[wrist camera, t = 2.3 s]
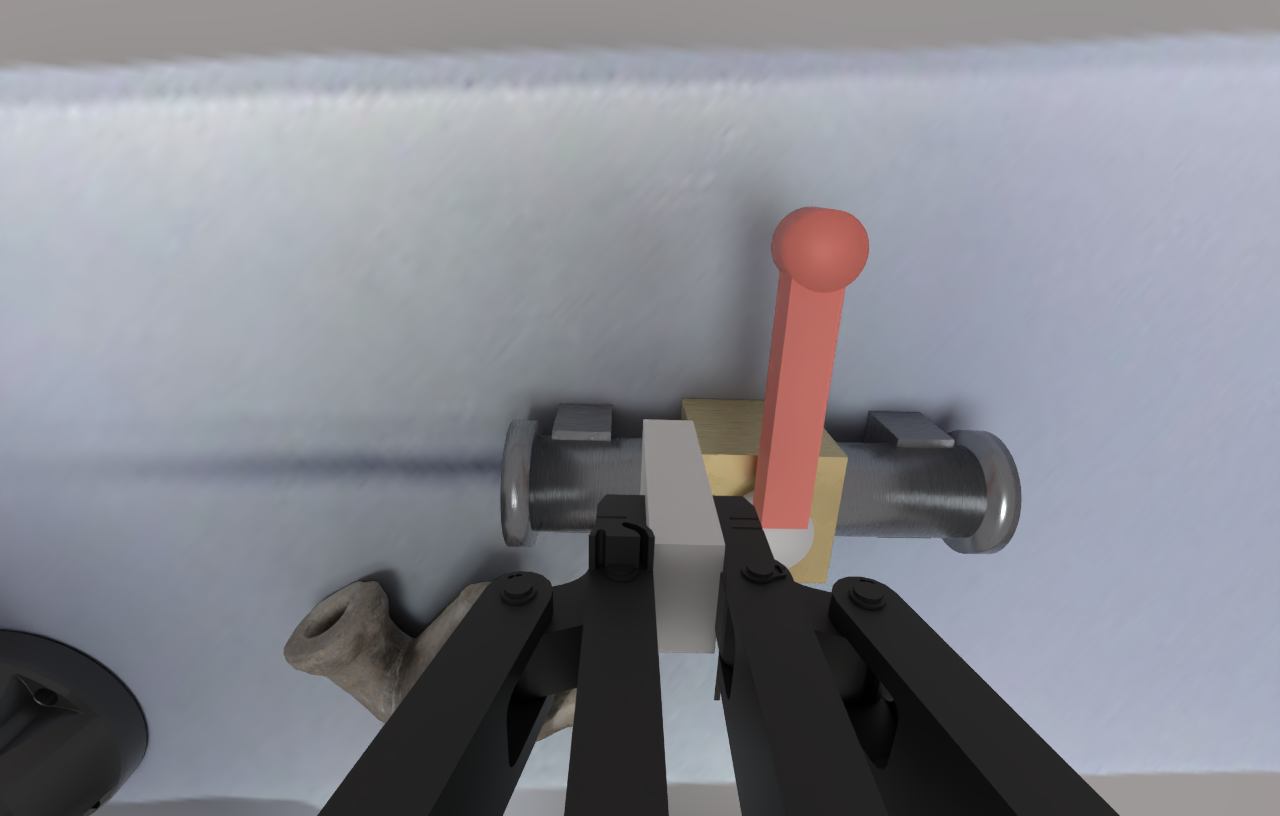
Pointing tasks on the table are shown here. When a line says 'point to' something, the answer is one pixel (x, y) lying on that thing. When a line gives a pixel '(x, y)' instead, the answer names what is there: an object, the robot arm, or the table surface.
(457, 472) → the table surface
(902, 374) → the table surface
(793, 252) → the lever
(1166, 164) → the table surface
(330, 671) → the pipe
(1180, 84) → the table surface
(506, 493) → the valve pipe
